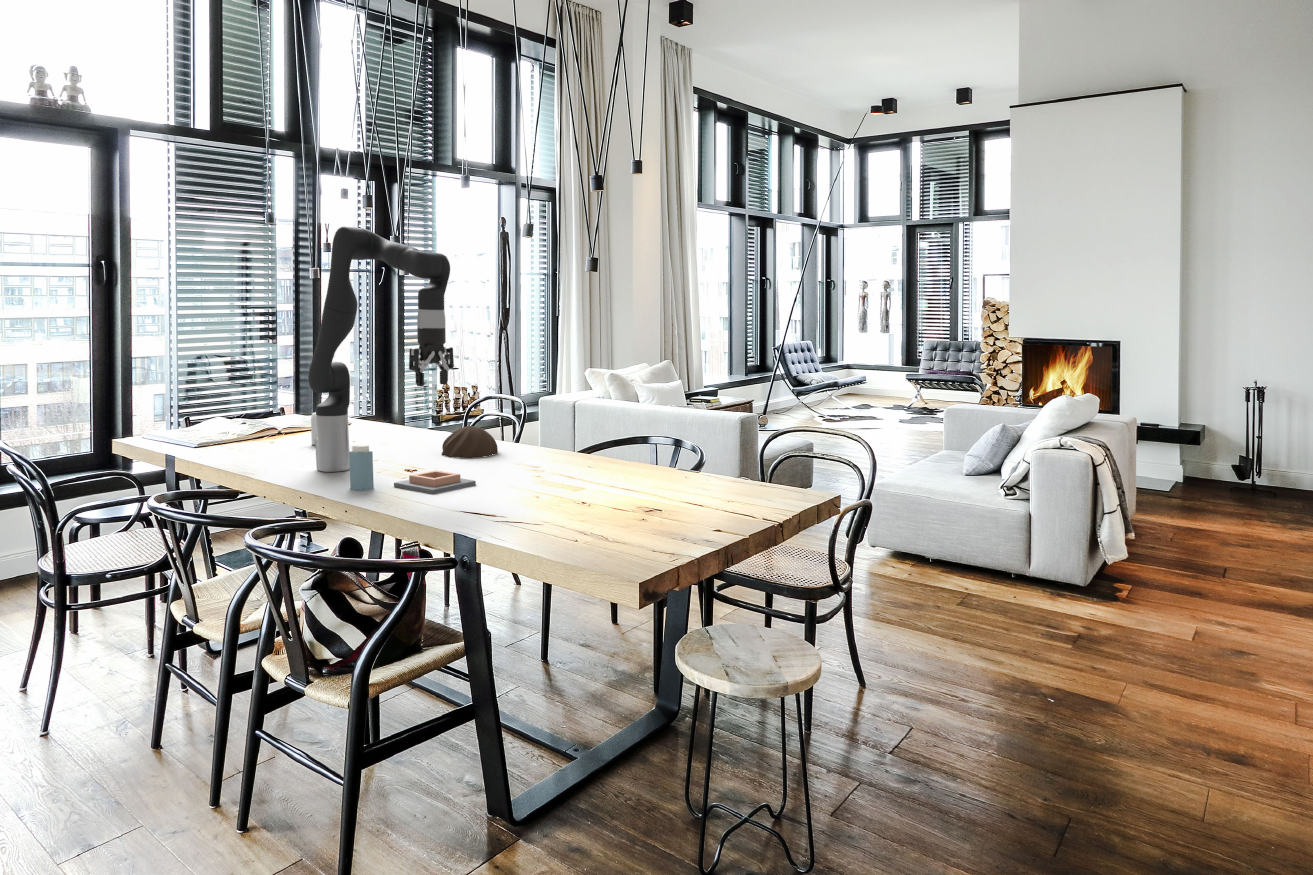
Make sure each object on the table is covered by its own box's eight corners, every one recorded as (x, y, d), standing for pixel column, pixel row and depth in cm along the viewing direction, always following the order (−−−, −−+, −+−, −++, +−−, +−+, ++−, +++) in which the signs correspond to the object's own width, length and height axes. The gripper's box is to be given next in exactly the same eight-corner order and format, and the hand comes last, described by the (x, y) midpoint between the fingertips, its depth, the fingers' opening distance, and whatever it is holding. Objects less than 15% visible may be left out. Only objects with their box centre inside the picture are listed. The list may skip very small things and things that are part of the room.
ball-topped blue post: (350, 488, 249) (348, 446, 248) (363, 486, 253) (362, 444, 251) (360, 490, 247) (359, 448, 245) (373, 488, 251) (372, 446, 249)
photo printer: (339, 442, 331) (338, 409, 329) (342, 443, 328) (341, 410, 326) (310, 444, 326) (309, 410, 324) (313, 446, 322) (311, 411, 320)
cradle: (394, 486, 253) (393, 475, 252) (437, 478, 266) (436, 467, 266) (433, 494, 244) (432, 482, 244) (475, 484, 257) (475, 473, 257)
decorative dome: (510, 453, 315) (510, 424, 313) (471, 460, 298) (470, 431, 296) (469, 447, 325) (468, 420, 323) (429, 455, 308) (428, 426, 306)
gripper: (441, 326, 254) (441, 383, 256) (401, 326, 242) (402, 385, 245) (460, 326, 250) (460, 384, 252) (421, 327, 238) (421, 387, 240)
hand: (432, 385), depth 248 cm, fingers open, 8 cm apart
